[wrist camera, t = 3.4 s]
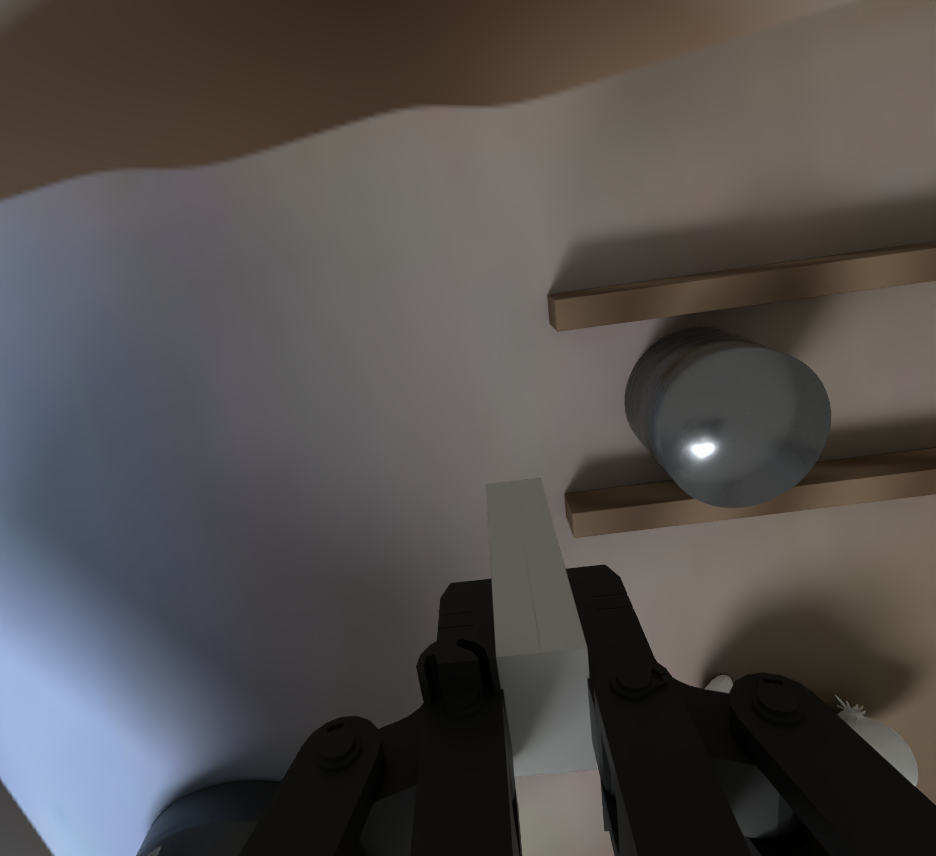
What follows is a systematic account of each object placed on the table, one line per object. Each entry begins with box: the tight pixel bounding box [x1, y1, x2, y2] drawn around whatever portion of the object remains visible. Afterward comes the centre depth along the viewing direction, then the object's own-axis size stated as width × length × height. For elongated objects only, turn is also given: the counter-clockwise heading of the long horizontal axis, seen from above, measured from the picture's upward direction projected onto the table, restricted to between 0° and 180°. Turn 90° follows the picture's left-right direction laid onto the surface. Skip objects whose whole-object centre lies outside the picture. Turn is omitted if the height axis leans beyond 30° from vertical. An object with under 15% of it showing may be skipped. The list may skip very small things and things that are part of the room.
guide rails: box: [547, 242, 936, 538], centre depth 23 cm, size 30×10×2 cm, turn 98°
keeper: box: [625, 327, 831, 508], centre depth 22 cm, size 6×6×5 cm
